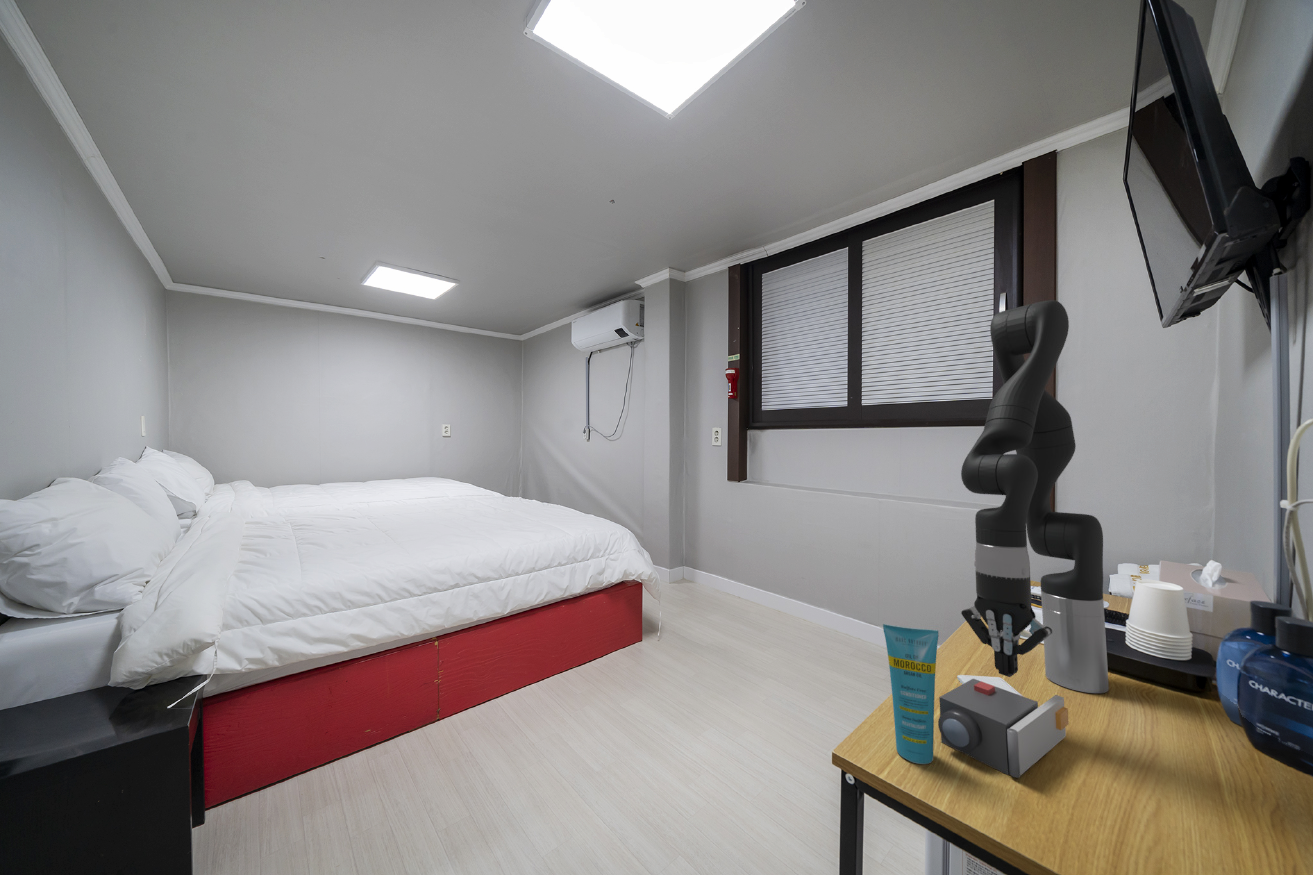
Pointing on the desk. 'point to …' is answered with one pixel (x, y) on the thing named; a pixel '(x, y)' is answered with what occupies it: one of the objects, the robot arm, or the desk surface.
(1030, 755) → the door
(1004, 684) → the external hard drive
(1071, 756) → the desk surface
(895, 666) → the tube
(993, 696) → the camera body
